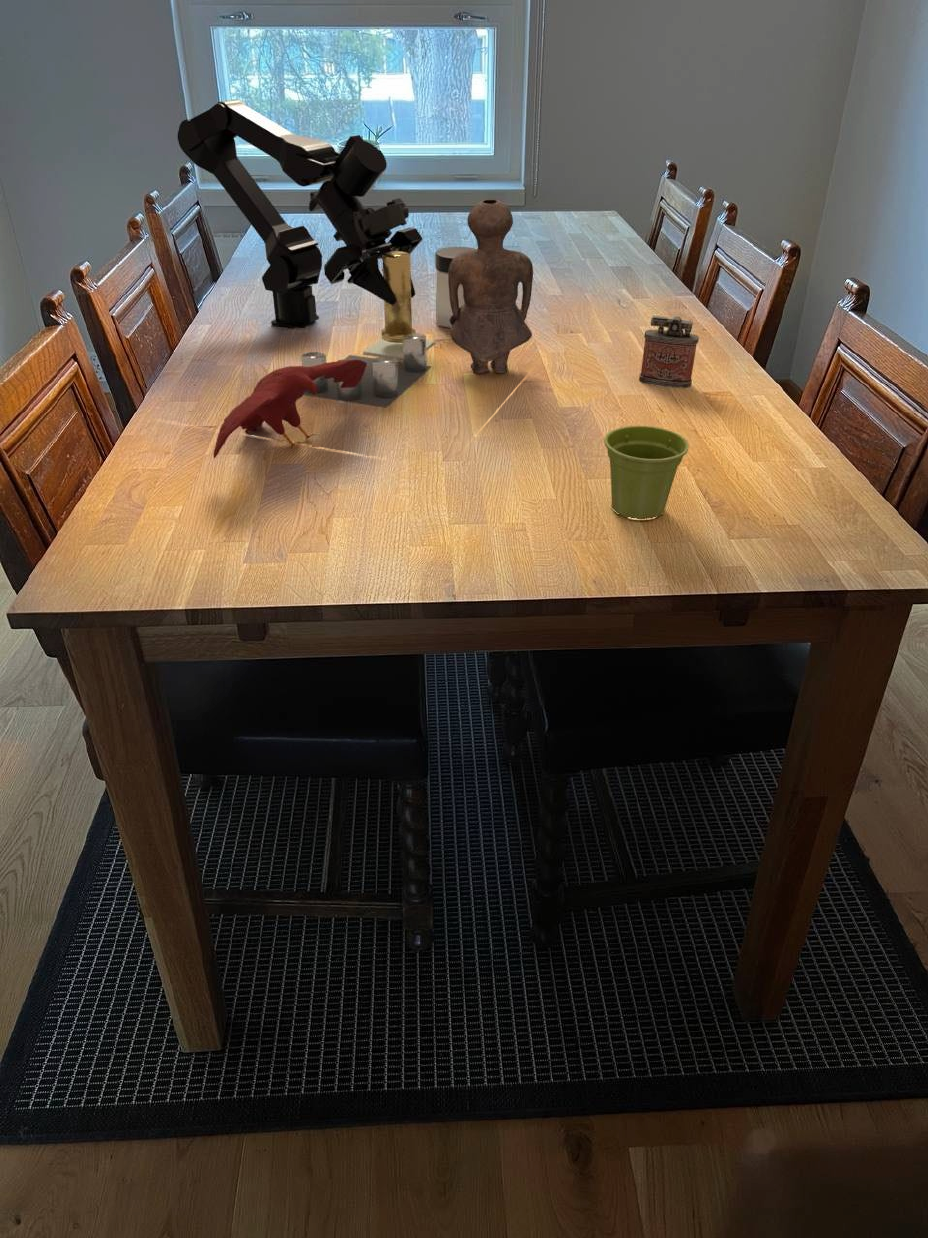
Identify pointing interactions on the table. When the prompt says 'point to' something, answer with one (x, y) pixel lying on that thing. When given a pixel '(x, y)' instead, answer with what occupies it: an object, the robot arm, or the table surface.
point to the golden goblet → (397, 296)
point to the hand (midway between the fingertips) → (404, 299)
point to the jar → (446, 284)
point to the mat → (368, 386)
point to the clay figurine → (490, 291)
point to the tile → (389, 349)
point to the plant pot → (643, 468)
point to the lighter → (669, 353)
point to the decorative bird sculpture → (285, 397)
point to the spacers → (377, 369)
